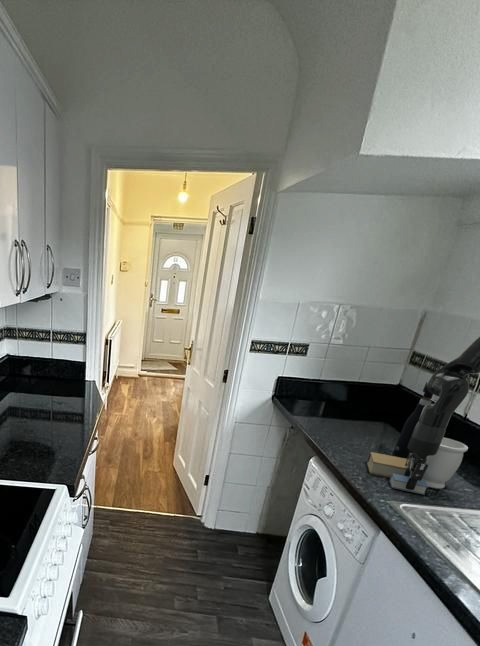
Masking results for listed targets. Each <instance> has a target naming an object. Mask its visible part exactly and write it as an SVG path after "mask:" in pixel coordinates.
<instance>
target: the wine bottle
mask: <svg viewBox="0 0 480 646" xmlns="http://www.w3.org/2000/svg"><path fill="white" fill-rule="evenodd" d="M427 382H428V381H426V382H425V385H424V387H423V389H422V392H423V396H422V398H420V400H419V402H418V403H417V404H416V407H415V409H414V411H413V412H412V413H411V414H410V415H409V416H408V417H407V419H406V420H405V422H404V424H403V427H402V429H401V431H400V434H399V436H398V439H397V441H396V444H395V446H394V449H393V451H392V454H391V456H395V457H400V458H405V459H407V458H408V455H409V452H410V450H409V449H408V444H409V441H410V439H411V436H412V434H413V431H414V428H415V426H416V425H417V423H418V421H419V418H420V416H421V413H422V411H423V408H424V407H425V406H426V405H427V404H431V403H432V399H433V396H434V394H432V393H430V392H429V391H428V390H427Z"/></svg>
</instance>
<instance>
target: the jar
mask: <svg viewBox="0 0 480 646" xmlns="http://www.w3.org/2000/svg"><path fill="white" fill-rule="evenodd" d="M468 449H469V447H468V445H466V444H465V443H463V442H461V441H458V440H455V439H452V438H448V437H443V439H442V441H441V444H440V446H439V449H438V451H437V453H436V455H433V456H431V455H430V456H427V464H428V467H427V469H426V471H425V473H424V476H423V478H422V479H423V480H425V481H426V483H427V485H428V488H432V489H444V488H445V487H446V483H447V482H448V481H449V480H450V479H452V477H453V476H454V475H455V473H456V472H457V471H458V469H459V468H460V466H461V464H462V461H463V458H464V453H466V452H467V451H468ZM417 475H418V474H416V475H415V476H417Z"/></svg>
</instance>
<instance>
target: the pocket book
mask: <svg viewBox="0 0 480 646" xmlns="http://www.w3.org/2000/svg"><path fill="white" fill-rule="evenodd" d="M389 478H390V477H389ZM408 479H409V476H404V475H399V474H395V473H392V475H391V478H390V479H389V484H390V487H391V489H396V490H401V491H403V492H404V491H405V492H409V493H414V494H419V495H423V496H425V495H426V490H427V489H428V488H429V487H428V485H427V483H426V481H425V480H423V479H422V480H421V481H419V480H418V481H417V484H416V486H415V488H414V490H409V489H406V484H407V482H408Z"/></svg>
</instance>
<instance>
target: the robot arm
mask: <svg viewBox="0 0 480 646" xmlns="http://www.w3.org/2000/svg"><path fill="white" fill-rule="evenodd" d="M471 374H472V375H473V374H474V375H475V374H480V336H478V337H477V338H476V339H475V340H474V341H472V343H470V345H468V347H467V348H466V349H464V351H462V353H461V354H459V356H458V357H456V358H454V359H453V360H451V361H450V362H448V363H447V364H444V366H442V367H440V368H439V369H437V371H435V372H434V373H432V375H430V377H429V379H428V380H427V381H426V382H427V390H428V391H429V392H430V393H432V394H433V396H437V397H438V399H437V400H436V401H435V402H433V403H432V402H431V403H430V404H427V405H426V406H425V407H424V408H423V411H422V413H421V416H420V418H419V421H418V423H417V425H416V426H415V428H414V431H413V434H412V436H411V439H410V441H409V444H408V449H409V450H410V452H409V455H408V458H407V461H406V464H405V466H406V467H405V470H406V471H405V473H404V476H409V479H408V482H407V484H406V489H409V490H414V488H415V486H416V484H417V481H418V480H419V481H421V480H422V478H423V476H424V473H425V471H426V469H427V467H428V464H427V456H430V455H431V456H433V455H436V453H437V451H438V449H439V446H440V444H441V441H442V439H443V437H444V436H445V434H446V429H447V427H448V425H449V422H450V419H451V418H452V415H453V414H454V412H455V411H456V410H457V409H458V408H459V406H460V405H461V404H462V403H463V401H464V400H466V397H467V396H468V394H469V391H470V383H469V381H468V379H466V378H465V376H467V375H471ZM444 438H445V437H444ZM416 475H417V476H416Z"/></svg>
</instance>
